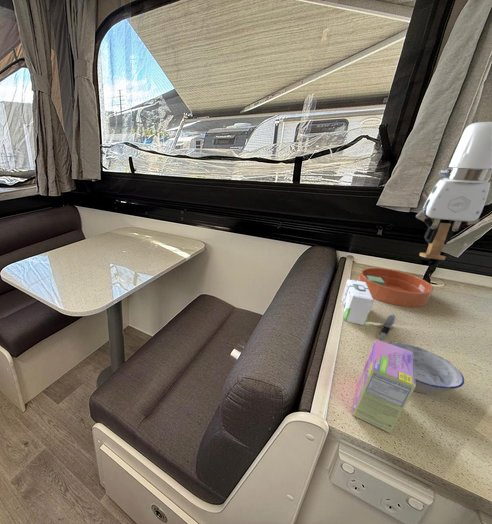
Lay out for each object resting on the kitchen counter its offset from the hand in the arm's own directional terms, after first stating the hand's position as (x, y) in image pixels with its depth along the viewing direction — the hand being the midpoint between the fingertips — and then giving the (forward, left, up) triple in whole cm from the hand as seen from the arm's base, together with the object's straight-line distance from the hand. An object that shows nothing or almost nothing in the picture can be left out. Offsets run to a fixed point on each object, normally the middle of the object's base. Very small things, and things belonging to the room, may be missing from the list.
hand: (435, 241), depth 77 cm
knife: (+10, +17, -21) cm, 29 cm away
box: (+19, +49, -21) cm, 57 cm away
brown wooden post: (0, +2, -4) cm, 5 cm away
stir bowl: (+3, -6, -21) cm, 22 cm away
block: (+8, -6, -21) cm, 23 cm away
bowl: (+10, +37, -21) cm, 44 cm away
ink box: (+17, +19, -17) cm, 31 cm away
